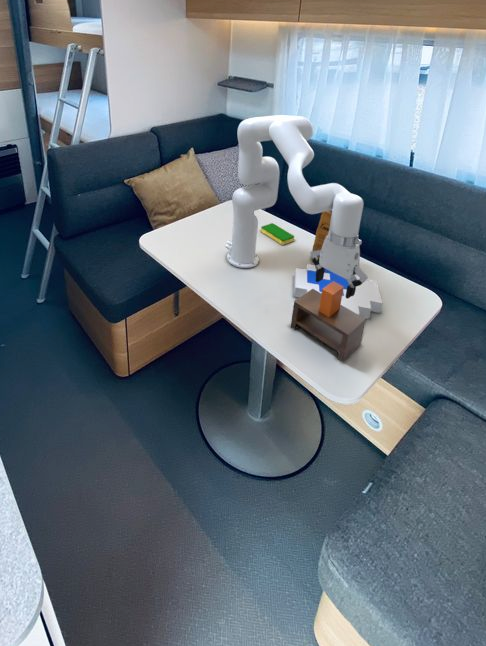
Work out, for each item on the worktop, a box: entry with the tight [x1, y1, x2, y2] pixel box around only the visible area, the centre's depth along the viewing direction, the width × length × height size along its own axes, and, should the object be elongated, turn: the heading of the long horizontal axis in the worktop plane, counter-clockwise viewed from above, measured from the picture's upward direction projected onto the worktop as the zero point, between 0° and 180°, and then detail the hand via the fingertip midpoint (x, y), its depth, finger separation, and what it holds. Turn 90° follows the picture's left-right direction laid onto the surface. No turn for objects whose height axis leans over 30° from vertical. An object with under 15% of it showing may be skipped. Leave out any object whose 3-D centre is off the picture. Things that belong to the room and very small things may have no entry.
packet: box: [319, 281, 344, 317], centre depth 121 cm, size 4×6×8 cm, turn 130°
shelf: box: [290, 289, 367, 363], centre depth 124 cm, size 18×10×10 cm, turn 40°
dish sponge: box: [260, 222, 295, 246], centre depth 182 cm, size 7×14×2 cm, turn 32°
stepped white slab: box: [293, 263, 383, 319], centre depth 144 cm, size 28×4×28 cm
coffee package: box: [311, 211, 332, 261], centre depth 160 cm, size 10×12×22 cm
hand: (333, 288), depth 119 cm, fingers open, 9 cm apart
